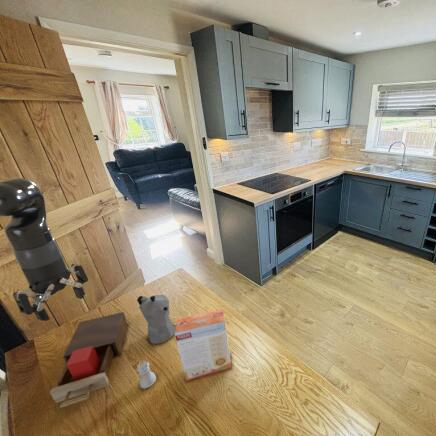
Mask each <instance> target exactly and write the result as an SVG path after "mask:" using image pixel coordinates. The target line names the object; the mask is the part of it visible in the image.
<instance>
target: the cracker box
mask: <svg viewBox="0 0 436 436" xmlns="http://www.w3.org/2000/svg"><path fill="white" fill-rule="evenodd" d="M227 330H228V329H227V322H226V316H225V309H224V308H220V309H217V310H213V311H208V312H204V313H199V314H194V315H190V316H184V317H180V318H176V322H175V331H174V337H175V341H176V345H177V349H178V353H179V358H180V361H181V366H182V369H183V373H184V378H185V380H186V381H187V382H188V381H191V380H194V379H197V378H202V377H204V376H208V375H211V374H214V373H218V372H221V371H225V370H228V369H231V368H232V363H231V353H230V345H229V338H228V331H227Z"/></svg>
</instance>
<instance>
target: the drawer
mask: <svg viewBox="0 0 436 436" xmlns="http://www.w3.org/2000/svg"><path fill="white" fill-rule="evenodd" d="M95 351H96V353H97V356H98V358H99V360H100V362H101V363H100V366H99V369H98V372H97V375H94V376H91V377H88V378H84V379H81V380H78V381H75V380H74V379H73V377H72V375H71V373H70V371H69V369H68V367H67V364H68V362H67V363H65V365H64V368H63V370H62V372H61V374H60V377H59V379H58V381H57V386H56V387H53V388H51V389H50V391H49V394H50V396H51V397H52V399H53V400H54V403H56V404H58V403H60V405H59V407H60V409H64V408H67V407H70V406H73V405H75V404H79V403H82V402H85V401H88V400H89V399H90V397H91V394H90V393H91V392H95V391H97V390H100V389H103V388H106V387H109V385H110V381H109V374H110V372H111V371H110V370H111V367H112V364H113V359H114V358H115V357H114V353H115V350H114V348H113V345H109V346H105V347H102V348H98V349H95ZM70 357H71V356H70ZM70 357H69V359H70ZM69 359H68V361H69Z"/></svg>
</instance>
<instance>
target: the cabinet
mask: <svg viewBox="0 0 436 436" xmlns="http://www.w3.org/2000/svg"><path fill="white" fill-rule="evenodd" d="M128 325H129V324H128V321H127V319H126V315H125V312H124V311H121V312H117V313H113V314H108V315H105V316H101V317H100V316H99V317H97V318H96V317H95V318H92V319H88V320H83V321H80V322H79V323H78V325H77V326H76V329H75V331H74V333H73V336H72V337H71V339H70V341H69V343H68V345H67V347H66V350H65V352H64V353H63V356H62V358H63V360H64V361H65V364H67V362H68V359H69V357H70V356H71V355H72V353H73V351H75V350H79V349H83V348H86V347H90V346H93V347H94V349H98V348H102V347H105V346H109V345H113V348H114V350H115V353H114V357H113V358H116V357H119V356H120V355H121V351H122V347H123V344H124V340H125V336H126V332H127V328H128Z"/></svg>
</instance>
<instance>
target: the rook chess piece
mask: <svg viewBox="0 0 436 436" xmlns="http://www.w3.org/2000/svg"><path fill="white" fill-rule="evenodd" d="M150 369H151V367H150V363H149V361H146V360H142V361H140V362H139V364H138V365H137V368H136V371H137V372H138V373H139V375H140V379H139V387H140V388H141V389H148V388H151V386H153V385H154V384H155V382H156V380H157V376H156V374H155V372H153V371H151V370H150Z"/></svg>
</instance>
